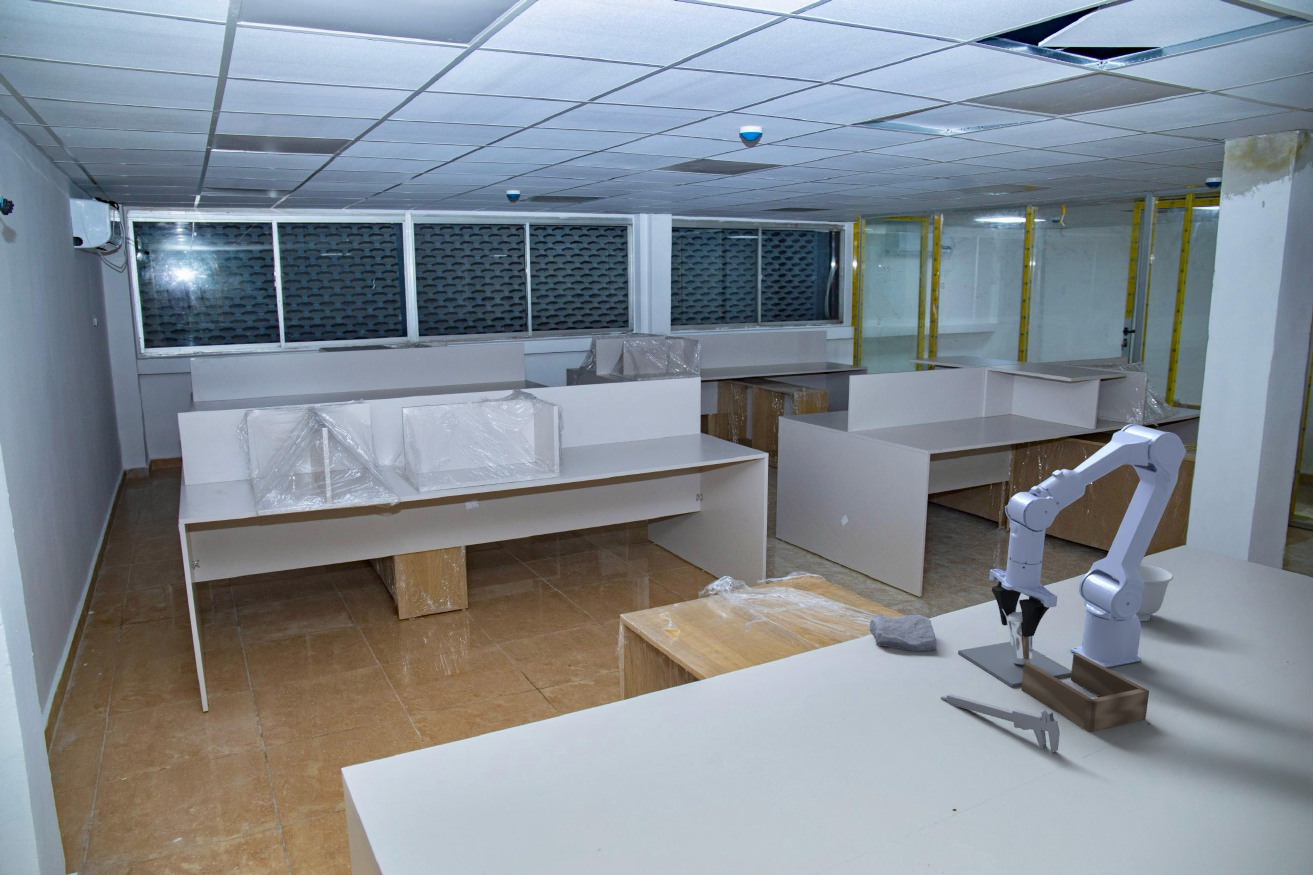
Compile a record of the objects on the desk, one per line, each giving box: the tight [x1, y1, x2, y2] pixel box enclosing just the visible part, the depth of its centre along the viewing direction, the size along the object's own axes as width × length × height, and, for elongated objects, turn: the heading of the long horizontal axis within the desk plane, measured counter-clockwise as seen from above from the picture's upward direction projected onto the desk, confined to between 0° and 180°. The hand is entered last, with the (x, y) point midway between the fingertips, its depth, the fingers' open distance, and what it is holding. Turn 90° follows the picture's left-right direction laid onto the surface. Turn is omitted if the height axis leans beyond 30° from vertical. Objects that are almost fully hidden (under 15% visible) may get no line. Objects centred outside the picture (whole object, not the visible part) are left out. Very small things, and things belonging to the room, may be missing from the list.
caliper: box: [940, 693, 1060, 754], centre depth 137 cm, size 20×1×6 cm, turn 35°
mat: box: [957, 641, 1072, 688], centre depth 158 cm, size 14×14×1 cm
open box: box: [1020, 653, 1150, 733], centre depth 143 cm, size 12×14×5 cm
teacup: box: [1112, 562, 1174, 622], centre depth 181 cm, size 12×15×10 cm
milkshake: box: [1002, 609, 1034, 665], centre depth 157 cm, size 5×5×10 cm
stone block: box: [869, 614, 937, 653], centre depth 167 cm, size 12×5×10 cm
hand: (1017, 629), depth 157 cm, fingers closed on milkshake, 5 cm apart
